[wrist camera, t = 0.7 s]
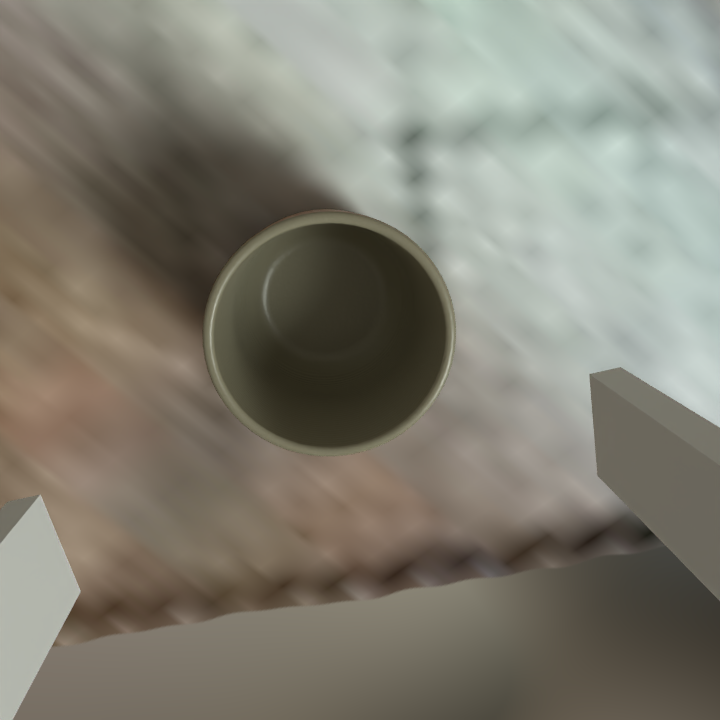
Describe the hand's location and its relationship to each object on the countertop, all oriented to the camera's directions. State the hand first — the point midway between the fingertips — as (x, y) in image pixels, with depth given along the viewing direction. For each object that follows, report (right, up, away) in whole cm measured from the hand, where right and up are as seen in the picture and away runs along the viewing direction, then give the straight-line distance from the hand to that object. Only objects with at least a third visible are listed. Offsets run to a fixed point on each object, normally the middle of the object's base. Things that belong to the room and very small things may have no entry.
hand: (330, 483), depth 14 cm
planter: (-2, +7, +25) cm, 26 cm away
